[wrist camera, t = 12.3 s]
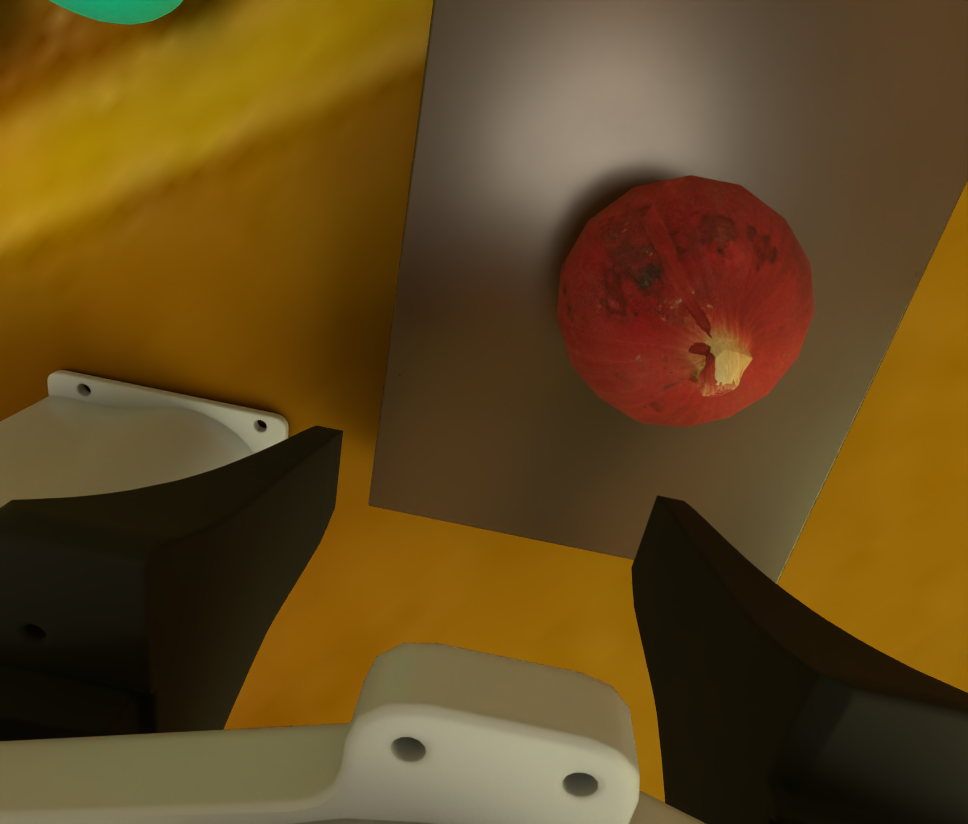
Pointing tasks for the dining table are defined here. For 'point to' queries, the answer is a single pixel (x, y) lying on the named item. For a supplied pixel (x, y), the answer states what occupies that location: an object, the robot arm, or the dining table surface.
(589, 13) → the platform
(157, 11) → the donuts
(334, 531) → the dining table surface
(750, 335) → the onion
